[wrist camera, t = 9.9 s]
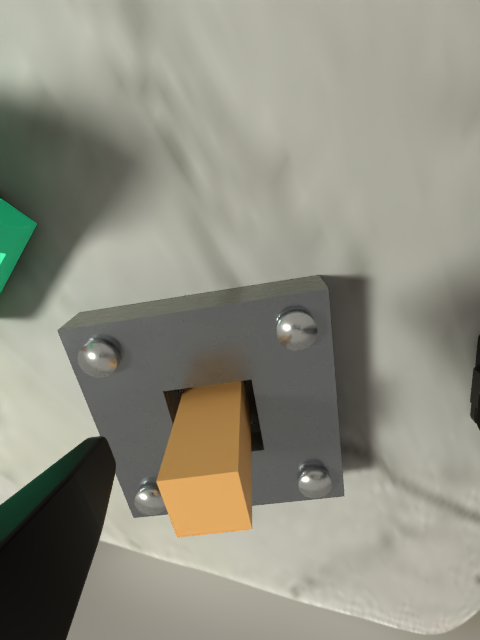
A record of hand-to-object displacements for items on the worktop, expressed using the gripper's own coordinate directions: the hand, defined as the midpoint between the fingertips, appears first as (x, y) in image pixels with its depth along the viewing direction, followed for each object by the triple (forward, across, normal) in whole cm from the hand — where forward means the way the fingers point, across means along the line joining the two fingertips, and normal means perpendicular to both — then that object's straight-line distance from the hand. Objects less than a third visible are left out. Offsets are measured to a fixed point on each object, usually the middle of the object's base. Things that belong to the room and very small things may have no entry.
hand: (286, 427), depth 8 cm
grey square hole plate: (+12, +4, +7) cm, 14 cm away
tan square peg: (+12, +4, +7) cm, 14 cm away
